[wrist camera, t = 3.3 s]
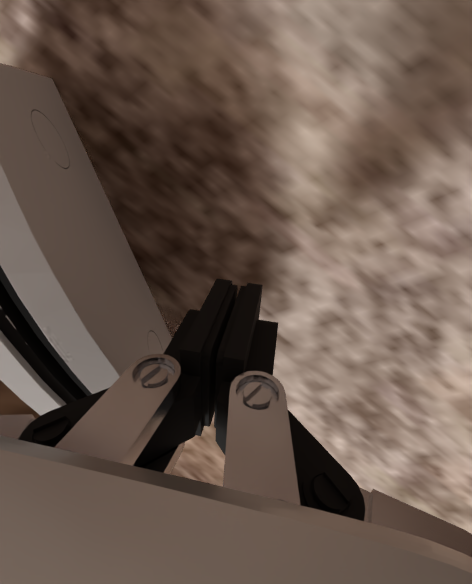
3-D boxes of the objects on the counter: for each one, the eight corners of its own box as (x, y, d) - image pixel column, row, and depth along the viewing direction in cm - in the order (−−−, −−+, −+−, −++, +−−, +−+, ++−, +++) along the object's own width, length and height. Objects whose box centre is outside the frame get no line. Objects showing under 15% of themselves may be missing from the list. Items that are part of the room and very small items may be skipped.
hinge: (-24, 110, 15) (-372, 24, 6) (64, 81, 15) (-150, -52, 6) (121, 363, 22) (64, 506, 13) (182, 344, 22) (169, 474, 13)
